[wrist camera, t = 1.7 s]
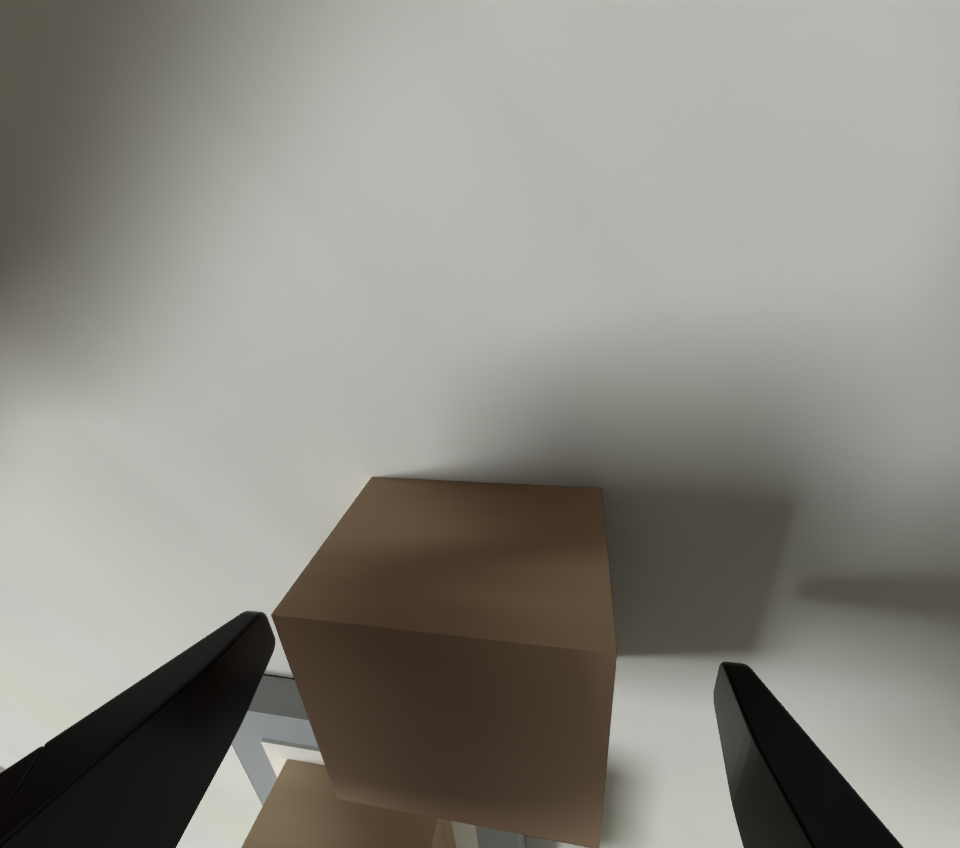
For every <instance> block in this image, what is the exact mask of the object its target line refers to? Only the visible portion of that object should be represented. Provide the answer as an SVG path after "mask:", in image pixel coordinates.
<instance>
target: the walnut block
mask: <svg viewBox="0 0 960 848" xmlns="http://www.w3.org/2000/svg"><path fill="white" fill-rule="evenodd" d="M271 615H272V618H273V621H274V624H275V627H276V629H277V632H278V635H279V638H280V641H281V643H282V646H283V649H284V652H285V655H286V657H287V660H288V663H289V666H290V669H291V671H292V674H293V677H294V680H295V683H296V685H297V688H298V691H299V694H300V697H301V699H302V702H303V705H304V708H305V711H306V713H307V716H308V719H309V722H310V725H311V727H312V730H313V733H314V736H315V739H316V741H317V744H318V747H319V750H320V753H321V755H322V758H323V761H324V764H325V767H326V769H327V772H328V775H329V778H330V781H331V783H332V786H333V789H334V792H335V795H336V797H337V799H341V800H346V801H351V802H357V803H362V804H367V805H372V806H377V807H382V808H388V809H393V810H398V811H403V812H408V813H413V814H419V815H424V816H429V817H434V818H439V819H444V820H449V821H455V822H460V823H465V824H470V825H475V826H480V827H486V828H491V829H496V830H501V831H506V832H511V833H517V834H522V835H527V836H532V837H537V838H542V839H548V840H553V841H558V842H563V843H568V844H573V845H579V846H584V847H589V848H599V844H600V833H601V822H602V811H603V800H604V789H605V778H606V767H607V756H608V745H609V734H610V723H611V712H612V702H613V691H614V680H615V669H616V658H617V650H616V639H615V628H614V617H613V606H612V595H611V584H610V573H609V562H608V551H607V540H606V529H605V518H604V507H603V496H602V488H588V487H567V486H546V485H525V484H504V483H483V482H462V481H441V480H420V479H399V478H378V477H371V479H370V480H369V482H368V483H367V484H366V486H365V487H364V488H363V490H362V491H361V493H360V494H359V495H358V497H357V498H356V499H355V501H354V502H353V503H352V505H351V506H350V508H349V509H348V510H347V512H346V513H345V514H344V516H343V517H342V519H341V520H340V521H339V523H338V524H337V525H336V527H335V528H334V530H333V531H332V532H331V534H330V535H329V536H328V538H327V539H326V540H325V542H324V543H323V545H322V546H321V547H320V549H319V550H318V551H317V553H316V554H315V556H314V557H313V558H312V560H311V561H310V562H309V564H308V565H307V566H306V568H305V569H304V571H303V572H302V573H301V575H300V576H299V577H298V579H297V580H296V582H295V583H294V584H293V586H292V587H291V588H290V590H289V591H288V592H287V594H286V595H285V597H284V598H283V599H282V601H281V602H280V603H279V605H278V606H277V608H276V609H275V610H274V612H273V613H272V614H271Z"/></svg>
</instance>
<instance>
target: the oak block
mask: <svg viewBox="0 0 960 848" xmlns="http://www.w3.org/2000/svg"><path fill="white" fill-rule="evenodd" d="M242 848H456V843H455V838H454V833H453V827H452V822H451V821H449V820H444V819H439V818H434V817H429V816H424V815H419V814H413V813H408V812H403V811H398V810H393V809H388V808H382V807H377V806H372V805H367V804H362V803H357V802H351V801H346V800H341V799H337V797H336V795H335V792H334V789H333V786H332V783H331V781H330V778H329V775H328V772H327V769H326V767H325V765H319V764H313V763H308V762H302V761H296V760H291V759H287V760H286V762H285V764H284V766H283V768H282V770H281V772H280V774H279V776H278V778H277V780H276V782H275V784H274V786H273V787H272V789H271V791H270V793H269V795H268V797H267V799H266V801H265V803H264V805H263V807H262V809H261V811H260V813H259V815H258V817H257V819H256V821H255V822H254V824H253V826H252V828H251V830H250V832H249V834H248V836H247V838H246V840H245V842H244V844H243V846H242Z"/></svg>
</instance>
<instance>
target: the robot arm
mask: <svg viewBox="0 0 960 848" xmlns="http://www.w3.org/2000/svg"><path fill="white" fill-rule="evenodd" d="M274 648H275V636H274V634H273V631H272V628H271V626H270V623H269V621H268V618H267V616H266V614H264V613H263V612H256V611H245V612H243V613H241V614H240V615H238V616H237V617H235V618H234V619H232V620H231V621H229V622H228V623H226V624H225V625H223V626H222V627H220V628H219V629H217V630H216V631H214V632H213V633H211V634H210V635H208V636H207V637H205V638H203V639H202V640H200V641H199V642H197V643H196V644H194V645H193V646H191V647H190V648H188V649H187V650H185V651H184V652H182V653H181V654H179V655H178V656H176V657H175V658H173V659H172V660H170V661H169V662H167V663H166V664H164V665H163V666H161V667H160V668H158V669H157V670H155V671H154V672H152V673H151V674H149V675H148V676H146V677H145V678H143V679H142V680H140V681H139V682H137V683H136V684H134V685H133V686H131V687H130V688H128V689H127V690H125V691H124V692H122V693H121V694H119V695H118V696H116V697H115V698H113V699H112V700H110V701H109V702H107V703H106V704H104V705H103V706H101V707H100V708H98V709H97V710H95V711H94V712H92V713H91V714H89V715H88V716H86V717H84V718H83V719H81V720H80V721H78V722H77V723H75V724H74V725H72V726H71V727H69V728H68V729H66V730H65V731H63V732H62V733H60V734H59V735H57V736H56V737H54V738H53V739H51V740H50V741H48V742H47V743H46V744H45V745H44V747H43V746H41V747H39V748H38V749H36V750H35V751H33V752H32V753H30V754H29V755H27V756H26V757H24V758H23V759H21V760H20V761H18V762H17V763H15V764H13V765H12V766H10V767H9V768H7V769H6V770H4V771H3V772H1V773H0V848H176V846H177V844H178V842H179V841H180V839H181V837H182V835H183V833H184V831H185V829H186V828H187V826H188V824H189V822H190V820H191V818H192V816H193V815H194V813H195V811H196V809H197V807H198V805H199V803H200V801H201V800H202V798H203V796H204V794H205V792H206V790H207V788H208V787H209V785H210V783H211V781H212V779H213V777H214V775H215V774H216V772H217V770H218V768H219V766H220V764H221V762H222V761H223V759H224V757H225V755H226V753H227V751H228V749H229V747H230V746H231V744H232V742H233V740H234V738H235V736H236V734H237V732H238V730H239V728H240V726H241V724H242V722H243V720H244V718H245V716H246V714H247V711H248V709H249V707H250V704H251V702H252V700H253V698H254V695H255V693H256V691H257V688H258V686H259V684H260V681H261V679H262V677H263V674H264V672H265V670H266V667H267V665H268V663H269V660H270V658H271V656H272V653H273V651H274ZM714 706H715V712H716V718H717V723H718V729H719V734H720V740H721V746H722V751H723V757H724V763H725V768H726V774H727V779H728V785H729V790H730V796H731V801H732V806H733V810H734V813H735V817H736V821H737V825H738V829H739V832H740V836H741V839H742V843H743V846H744V848H903V846H902V845H901V844H900V843H899V842H898V841H897V839H896V838H895V837H894V836H893V835H892V834H891V832H890V831H889V830H888V829H887V828H886V827H885V825H884V824H883V823H882V822H881V821H880V819H879V818H878V817H877V816H876V815H875V814H874V812H873V811H872V810H871V809H870V808H869V807H868V805H867V804H866V803H865V802H864V801H863V800H862V798H861V797H860V796H859V795H858V794H857V792H856V791H855V790H854V789H853V788H852V787H851V785H850V784H849V783H848V782H847V781H846V780H845V778H844V777H843V776H842V775H841V774H840V773H839V771H838V770H837V769H836V768H835V767H834V765H833V764H832V763H831V762H830V761H829V760H828V758H827V757H826V756H825V755H824V754H823V753H822V751H821V750H820V749H819V748H818V747H817V745H816V744H815V743H814V742H813V741H812V740H811V738H810V737H809V736H808V735H807V734H806V733H805V731H804V730H803V729H802V728H801V727H800V726H799V724H798V723H797V722H796V721H795V720H794V718H793V717H792V716H791V715H790V714H789V713H788V711H787V710H786V709H785V708H784V707H783V706H782V704H781V703H780V702H779V701H778V700H777V699H776V697H775V696H774V695H773V694H772V693H771V691H770V690H769V689H768V688H767V687H766V686H765V684H764V683H763V682H762V681H761V680H760V679H759V677H758V676H757V675H756V674H755V673H754V672H753V670H752V669H751V668H750V667H749V666H747V665H746V664H742V663H734V662H722V663H721V664H720V666H719V670H718V675H717V679H716V684H715V688H714Z"/></svg>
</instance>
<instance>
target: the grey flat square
mask: <svg viewBox="0 0 960 848" xmlns="http://www.w3.org/2000/svg"><path fill="white" fill-rule="evenodd" d="M232 746H233V748H234V750H235V752H236V754H237V756H238V758H239V760H240V762H241V764H242V766H243V768H244V770H245V772H246V774H247V776H248V778H249V780H250V782H251V784H252V786H253V788H254V790H255V792H256V794H257V795H258V797H259V799H260V801H261V803H262V805H264V803H265V801H266V799H267V797H268V795H269V793H270V791H271V789H272V787H273V786H274V784H275V782H276V780H277V778H278V776H279V774H280V772H281V770H282V768H283V766H284V764H285V762H286V760H287V759H291V760H296V761H302V762H308V763H313V764H319V765H325V764H324V761H323V758H322V755H321V753H320V750H319V747H318V744H317V741H316V739H315V736H314V733H313V730H312V727H311V725H310V722H309V719H308V716H307V713H306V711H305V708H304V705H303V702H302V699H301V697H300V694H299V691H298V688H297V685H296V683H295V680H293V679H286V678H279V677H271V676H264V675H263V677H262V679H261V681H260V684H259V686H258V688H257V691H256V693H255V695H254V698H253V700H252V702H251V704H250V707H249V709H248V711H247V714H246V716H245V718H244V720H243V722H242V724H241V726H240V728H239V730H238V732H237V734H236V736H235V738H234V740H233V742H232ZM451 822H452V827H453V833H454V838H455V843H456V848H525V835H522V834H517V833H511V832H506V831H501V830H496V829H491V828H486V827H480V826H475V825H470V824H465V823H460V822H455V821H451Z"/></svg>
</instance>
